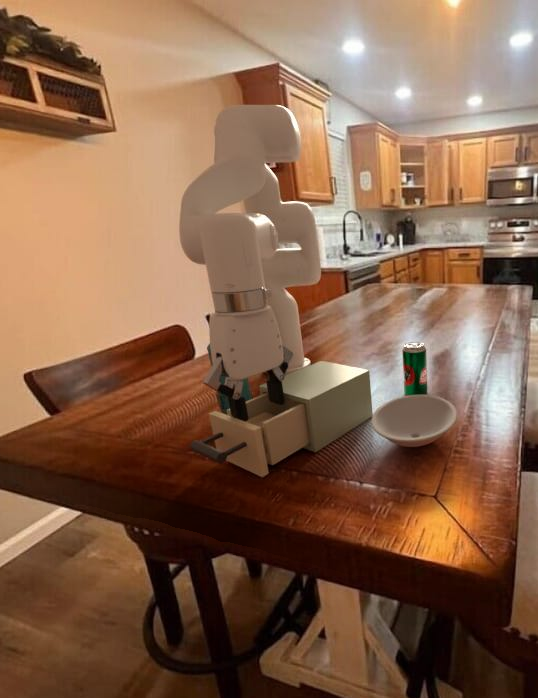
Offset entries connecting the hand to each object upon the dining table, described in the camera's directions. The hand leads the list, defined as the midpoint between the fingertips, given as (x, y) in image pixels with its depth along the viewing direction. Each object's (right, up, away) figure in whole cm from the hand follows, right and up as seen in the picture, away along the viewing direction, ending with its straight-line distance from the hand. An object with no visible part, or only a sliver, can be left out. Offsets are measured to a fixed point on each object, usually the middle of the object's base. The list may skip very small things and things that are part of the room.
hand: (259, 409), depth 66 cm
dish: (+26, -6, +5) cm, 27 cm away
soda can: (+26, 0, +23) cm, 35 cm away
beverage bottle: (-11, -4, +18) cm, 21 cm away
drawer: (0, -7, +2) cm, 8 cm away
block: (0, -6, +2) cm, 6 cm away
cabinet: (+8, -4, +12) cm, 15 cm away
